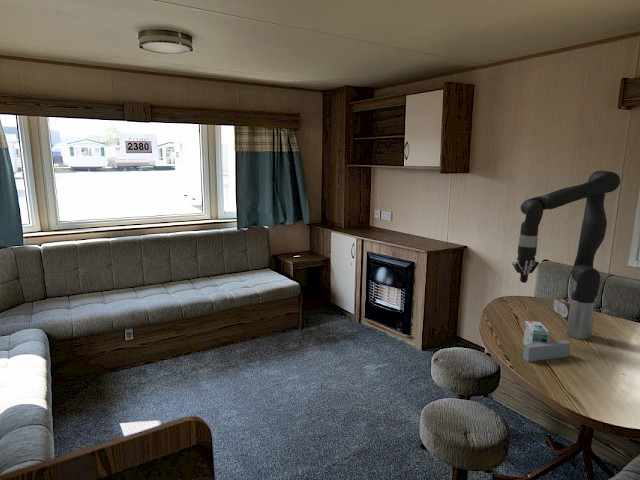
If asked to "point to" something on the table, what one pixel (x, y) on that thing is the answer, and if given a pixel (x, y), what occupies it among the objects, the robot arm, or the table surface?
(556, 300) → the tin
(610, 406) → the table surface
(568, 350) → the slate prism bar
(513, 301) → the table surface
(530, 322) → the light bulb box
